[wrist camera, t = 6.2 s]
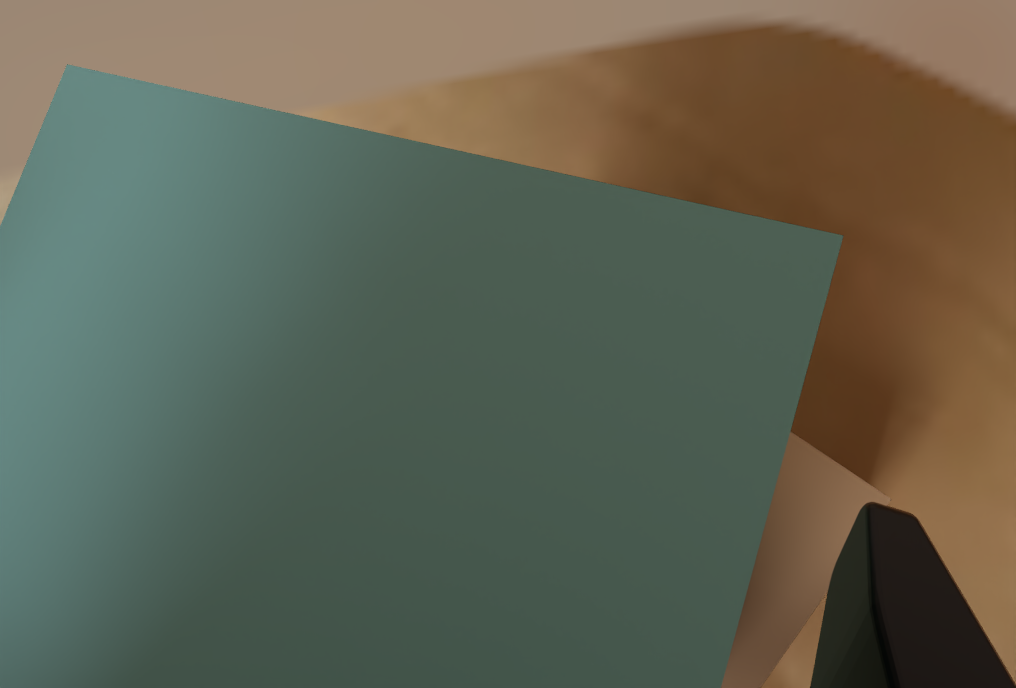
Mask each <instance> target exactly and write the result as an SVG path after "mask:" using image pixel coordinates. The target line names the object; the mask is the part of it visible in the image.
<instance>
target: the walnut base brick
mask: <svg viewBox="0 0 1016 688" xmlns="http://www.w3.org/2000/svg"><path fill="white" fill-rule="evenodd" d="M890 501H891V498H889V497H888V496H886V495H885V494H883V493H882V492H880V491H879V490H877V489H876V488H874V487H873V486H871V485H870V484H868V483H867V482H865V481H864V480H862V479H861V478H859V477H858V476H856V475H855V474H853V473H852V472H850V471H849V470H847V469H846V468H844V467H843V466H841V465H840V464H838V463H837V462H835V461H834V460H832V459H831V458H829V457H828V456H826V455H825V454H823V453H822V452H820V451H819V450H817V449H816V448H814V447H813V446H812V445H810V444H809V443H807V442H806V441H804V440H803V439H801V438H800V437H798V436H797V435H795V434H794V433H792V432H791V431H790V435H789V438H788V442H787V446H786V450H785V453H784V457H783V461H782V464H781V468H780V472H779V475H778V479H777V483H776V486H775V490H774V494H773V497H772V501H771V505H770V509H769V512H768V516H767V520H766V523H765V527H764V531H763V534H762V538H761V542H760V545H759V549H758V553H757V556H756V560H755V564H754V568H753V571H752V575H751V579H750V582H749V586H748V590H747V593H746V597H745V601H744V604H743V608H742V612H741V615H740V619H739V623H738V627H737V630H736V634H735V638H734V641H733V645H732V649H731V652H730V656H729V660H728V663H727V667H726V671H725V674H724V678H723V682H722V685H721V688H761V686H762V685H763V684H764V682H765V681H766V679H767V678H768V676H769V675H770V673H771V672H772V671H773V669H774V668H775V666H776V665H777V663H778V662H779V661H780V659H781V658H782V656H783V655H784V653H785V652H786V650H787V649H788V648H789V646H790V645H791V643H792V642H793V640H794V639H795V638H796V636H797V635H798V633H799V632H800V630H801V629H802V627H803V626H804V625H805V623H806V622H807V620H808V619H809V617H810V616H811V615H812V613H813V612H814V610H815V609H816V607H817V606H818V604H819V603H820V602H821V600H822V599H823V597H824V596H825V594H826V593H827V591H828V589H829V584H830V580H831V576H832V572H833V569H834V567H835V564H836V561H837V559H838V557H839V555H840V552H841V550H842V548H843V546H844V544H845V542H846V539H847V537H848V535H849V533H850V531H851V528H852V526H853V524H854V522H855V520H856V518H857V515H858V513H859V511H860V509H861V508H862V507H863V506H864V505H865V504H866V503H869V502H876V503H879V504H883V505H886V506H887V505H888V504H889V502H890Z"/></svg>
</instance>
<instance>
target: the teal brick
mask: <svg viewBox="0 0 1016 688" xmlns="http://www.w3.org/2000/svg"><path fill="white" fill-rule="evenodd" d="M842 239H843V235H839V234H834V233H830V232H825V231H821V230H816V229H812V228H807V227H802V226H798V225H793V224H789V223H784V222H780V221H775V220H771V219H766V218H762V217H757V216H753V215H748V214H744V213H739V212H734V211H730V210H725V209H721V208H716V207H712V206H707V205H703V204H698V203H694V202H689V201H685V200H680V199H675V198H671V197H666V196H662V195H657V194H653V193H648V192H644V191H639V190H635V189H630V188H626V187H621V186H617V185H612V184H607V183H603V182H598V181H594V180H589V179H585V178H580V177H576V176H571V175H567V174H562V173H558V172H553V171H548V170H544V169H539V168H535V167H530V166H526V165H521V164H517V163H512V162H508V161H503V160H499V159H494V158H489V157H485V156H480V155H476V154H471V153H467V152H462V151H458V150H453V149H449V148H444V147H440V146H435V145H431V144H426V143H421V142H417V141H412V140H408V139H403V138H399V137H394V136H390V135H385V134H381V133H376V132H372V131H367V130H362V129H358V128H353V127H349V126H344V125H340V124H335V123H331V122H326V121H322V120H317V119H313V118H308V117H303V116H299V115H294V114H290V113H285V112H281V111H276V110H272V109H267V108H263V107H258V106H253V105H249V104H244V103H240V102H235V101H231V100H226V99H222V98H217V97H212V96H208V95H204V94H199V93H194V92H190V91H186V90H181V89H176V88H172V87H167V86H162V85H158V84H154V83H149V82H145V81H140V80H135V79H131V78H126V77H122V76H117V75H113V74H108V73H104V72H99V71H95V70H90V69H86V68H81V67H76V66H72V65H68V64H67V66H66V69H65V71H64V73H63V76H62V78H61V81H60V83H59V85H58V88H57V90H56V93H55V95H54V98H53V100H52V102H51V105H50V107H49V110H48V112H47V115H46V117H45V119H44V122H43V124H42V127H41V129H40V132H39V134H38V136H37V139H36V141H35V144H34V146H33V148H32V151H31V153H30V156H29V158H28V160H27V163H26V165H25V168H24V170H23V173H22V175H21V177H20V180H19V182H18V185H17V187H16V190H15V192H14V194H13V197H12V199H11V202H10V204H9V206H8V209H7V211H6V214H5V216H4V219H3V221H2V223H1V226H0V688H721V685H722V682H723V678H724V674H725V671H726V667H727V663H728V660H729V656H730V652H731V649H732V645H733V641H734V638H735V634H736V630H737V627H738V623H739V619H740V615H741V612H742V608H743V604H744V601H745V597H746V593H747V590H748V586H749V582H750V579H751V575H752V571H753V568H754V564H755V560H756V556H757V553H758V549H759V545H760V542H761V538H762V534H763V531H764V527H765V523H766V520H767V516H768V512H769V509H770V505H771V501H772V497H773V494H774V490H775V486H776V483H777V479H778V475H779V472H780V468H781V464H782V461H783V457H784V453H785V450H786V446H787V442H788V438H789V435H790V431H791V427H792V424H793V420H794V416H795V413H796V409H797V405H798V402H799V398H800V394H801V391H802V387H803V383H804V379H805V376H806V372H807V368H808V365H809V361H810V357H811V354H812V350H813V346H814V343H815V339H816V335H817V332H818V328H819V324H820V321H821V317H822V313H823V309H824V306H825V302H826V298H827V295H828V291H829V287H830V284H831V280H832V276H833V273H834V269H835V265H836V262H837V258H838V254H839V250H840V247H841V243H842Z"/></svg>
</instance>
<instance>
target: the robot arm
mask: <svg viewBox="0 0 1016 688" xmlns="http://www.w3.org/2000/svg"><path fill="white" fill-rule="evenodd" d="M810 688H1016V684H1015V682H1014V681H1013V679H1012V677H1011V675H1010V674H1009V672H1008V670H1007V669H1006V667H1005V665H1004V664H1003V662H1002V660H1001V659H1000V657H999V655H998V653H997V652H996V650H995V648H994V647H993V645H992V643H991V642H990V640H989V638H988V636H987V635H986V633H985V631H984V630H983V628H982V626H981V625H980V623H979V621H978V620H977V618H976V616H975V614H974V613H973V611H972V609H971V608H970V606H969V604H968V603H967V601H966V599H965V597H964V596H963V594H962V592H961V591H960V589H959V587H958V586H957V584H956V582H955V581H954V579H953V577H952V575H951V574H950V572H949V570H948V569H947V567H946V565H945V564H944V562H943V560H942V558H941V557H940V555H939V553H938V552H937V550H936V548H935V547H934V545H933V543H932V542H931V540H930V538H929V536H928V535H927V533H926V531H925V530H924V528H923V526H922V525H921V523H920V521H919V520H918V519H917V518H916V517H915V516H914V515H913V514H911V513H909V512H906V511H902V510H899V509H896V508H892V507H889V506H886V505H883V504H879V503H876V502H869V503H866V504H865V505H864V506H863V507H862V508H861V509H860V511H859V513H858V515H857V518H856V520H855V522H854V524H853V526H852V528H851V531H850V533H849V535H848V537H847V539H846V542H845V544H844V546H843V548H842V550H841V552H840V555H839V557H838V559H837V561H836V564H835V567H834V569H833V572H832V576H831V580H830V584H829V589H828V594H827V599H826V605H825V610H824V616H823V621H822V627H821V632H820V638H819V643H818V649H817V654H816V659H815V665H814V670H813V676H812V681H811V687H810Z"/></svg>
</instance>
